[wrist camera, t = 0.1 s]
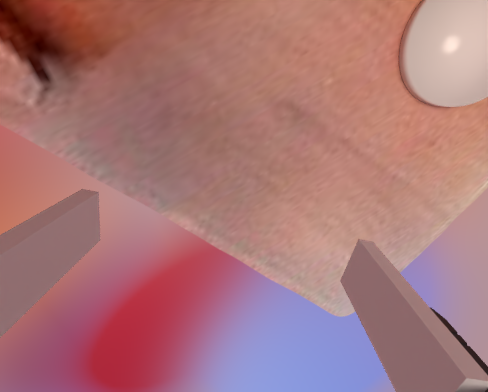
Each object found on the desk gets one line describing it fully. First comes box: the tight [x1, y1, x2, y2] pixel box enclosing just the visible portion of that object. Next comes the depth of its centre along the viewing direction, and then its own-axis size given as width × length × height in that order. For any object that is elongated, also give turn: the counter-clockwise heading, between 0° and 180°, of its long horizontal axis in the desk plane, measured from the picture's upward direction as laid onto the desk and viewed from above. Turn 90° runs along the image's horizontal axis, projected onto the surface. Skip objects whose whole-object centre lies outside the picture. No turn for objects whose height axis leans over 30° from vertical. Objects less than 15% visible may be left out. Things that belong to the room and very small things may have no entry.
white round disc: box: [399, 0, 488, 107], centre depth 32 cm, size 16×16×2 cm
